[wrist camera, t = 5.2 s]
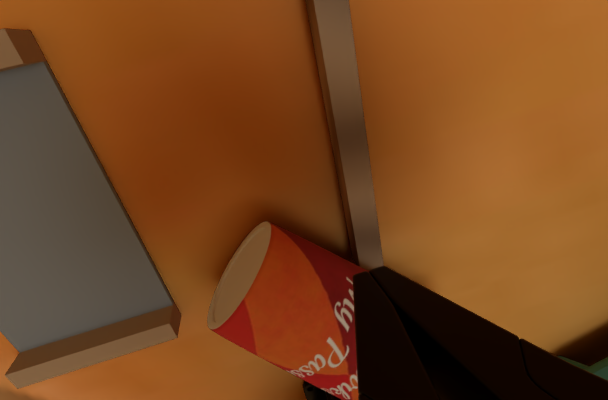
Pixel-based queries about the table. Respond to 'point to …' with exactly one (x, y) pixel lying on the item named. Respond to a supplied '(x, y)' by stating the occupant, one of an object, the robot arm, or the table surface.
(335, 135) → the strip
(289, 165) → the table surface
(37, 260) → the mat
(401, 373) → the robot arm
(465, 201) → the table surface
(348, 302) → the coffee cup
